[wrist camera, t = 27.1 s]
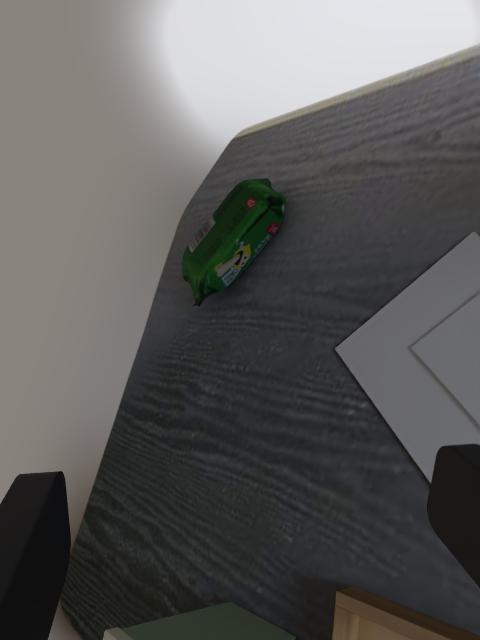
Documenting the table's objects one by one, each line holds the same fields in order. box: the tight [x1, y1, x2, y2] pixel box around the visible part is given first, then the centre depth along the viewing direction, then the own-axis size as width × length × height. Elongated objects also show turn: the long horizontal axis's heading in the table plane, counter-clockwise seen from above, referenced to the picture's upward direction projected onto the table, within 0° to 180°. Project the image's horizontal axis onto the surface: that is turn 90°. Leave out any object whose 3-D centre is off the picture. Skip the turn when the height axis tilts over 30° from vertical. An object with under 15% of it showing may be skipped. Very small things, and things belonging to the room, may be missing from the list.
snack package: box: [182, 178, 286, 306], centre depth 45 cm, size 7×16×5 cm, turn 123°
